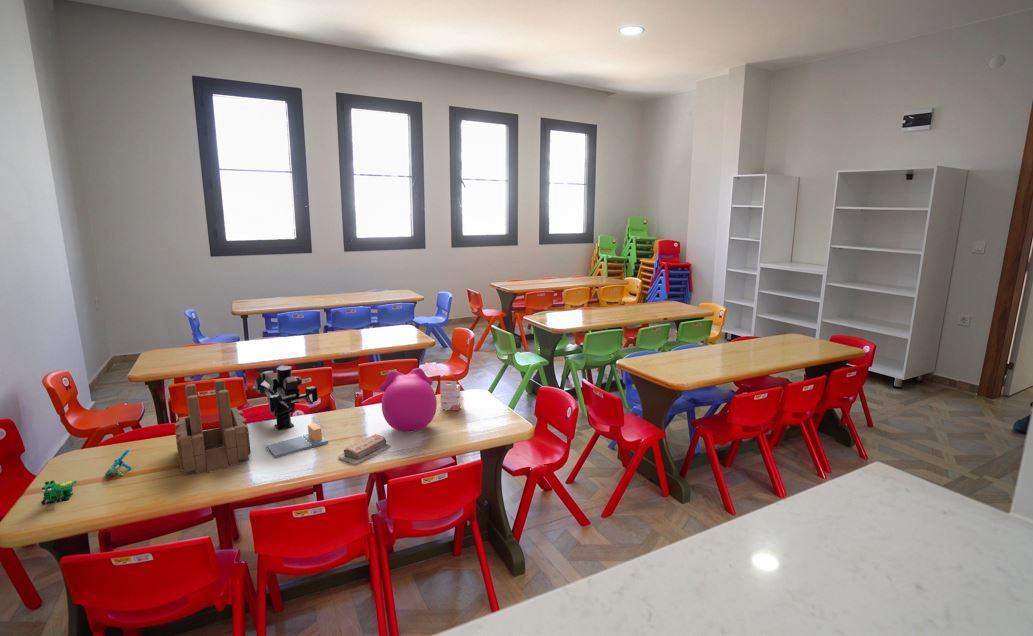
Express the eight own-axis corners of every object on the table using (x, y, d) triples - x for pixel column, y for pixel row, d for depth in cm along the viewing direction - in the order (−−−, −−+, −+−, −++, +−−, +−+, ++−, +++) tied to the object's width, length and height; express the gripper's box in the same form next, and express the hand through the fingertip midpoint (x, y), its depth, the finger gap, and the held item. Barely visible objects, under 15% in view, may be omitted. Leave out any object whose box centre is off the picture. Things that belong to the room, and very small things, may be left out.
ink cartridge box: (461, 407, 249) (460, 378, 246) (458, 411, 244) (457, 381, 241) (443, 406, 250) (442, 377, 247) (440, 410, 245) (439, 380, 242)
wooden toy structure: (181, 479, 182) (170, 405, 177) (178, 448, 207) (169, 383, 201) (253, 461, 195) (245, 392, 190) (242, 434, 219) (235, 373, 214)
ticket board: (266, 447, 207) (266, 445, 206) (302, 438, 215) (302, 435, 215) (275, 458, 198) (275, 455, 197) (312, 447, 206) (312, 444, 206)
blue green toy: (112, 461, 192) (130, 443, 191) (128, 469, 194) (145, 451, 194) (97, 479, 182) (116, 460, 181) (113, 488, 184) (132, 469, 184)
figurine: (431, 415, 239) (429, 363, 234) (443, 435, 217) (441, 378, 212) (379, 422, 231) (376, 368, 226) (386, 444, 209) (382, 385, 204)
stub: (303, 437, 216) (301, 424, 214) (317, 433, 219) (316, 420, 218) (313, 447, 207) (312, 433, 205) (328, 442, 210) (327, 429, 209)
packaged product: (372, 431, 211) (390, 436, 206) (373, 442, 212) (391, 448, 207) (336, 448, 196) (354, 454, 191) (337, 460, 197) (355, 466, 192)
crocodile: (63, 483, 180) (58, 460, 178) (83, 480, 182) (79, 457, 180) (38, 513, 162) (33, 487, 160) (62, 509, 164) (57, 483, 162)
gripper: (262, 379, 209) (274, 392, 197) (308, 370, 221) (322, 381, 209) (264, 405, 212) (276, 419, 201) (310, 394, 224) (324, 406, 212)
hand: (300, 405), depth 206 cm, fingers open, 9 cm apart
